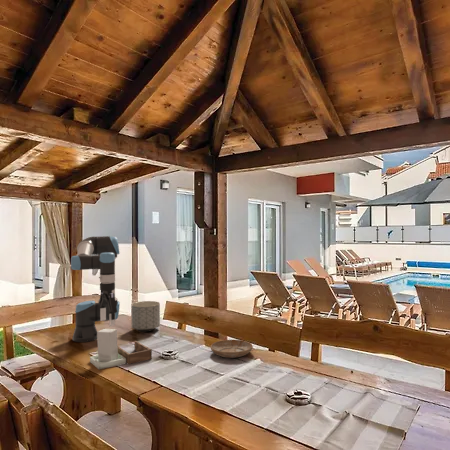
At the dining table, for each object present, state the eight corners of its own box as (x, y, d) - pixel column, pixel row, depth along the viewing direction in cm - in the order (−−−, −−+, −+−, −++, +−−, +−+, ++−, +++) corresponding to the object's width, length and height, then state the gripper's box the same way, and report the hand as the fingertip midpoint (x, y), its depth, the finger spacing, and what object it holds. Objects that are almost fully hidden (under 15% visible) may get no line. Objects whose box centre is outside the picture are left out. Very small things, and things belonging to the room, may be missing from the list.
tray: (89, 361, 199) (89, 356, 199) (115, 356, 207) (115, 351, 207) (98, 369, 187) (98, 364, 187) (126, 363, 196) (125, 358, 196)
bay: (114, 354, 211) (114, 345, 211) (136, 349, 218) (136, 340, 218) (128, 364, 195) (128, 354, 195) (151, 358, 202) (151, 349, 202)
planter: (157, 334, 250) (156, 306, 250) (128, 334, 251) (128, 306, 251) (162, 326, 269) (162, 300, 269) (135, 326, 270) (135, 301, 270)
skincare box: (118, 358, 199) (118, 329, 199) (110, 363, 193) (110, 332, 193) (104, 357, 202) (104, 327, 202) (96, 361, 196) (96, 331, 196)
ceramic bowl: (258, 350, 215) (258, 341, 215) (243, 364, 194) (243, 354, 194) (221, 345, 225) (221, 337, 225) (203, 358, 204) (203, 348, 204)
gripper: (92, 280, 205) (92, 319, 206) (108, 286, 185) (109, 329, 186) (106, 278, 210) (106, 317, 210) (123, 284, 190) (123, 327, 190)
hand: (107, 323), depth 198 cm, fingers open, 13 cm apart
